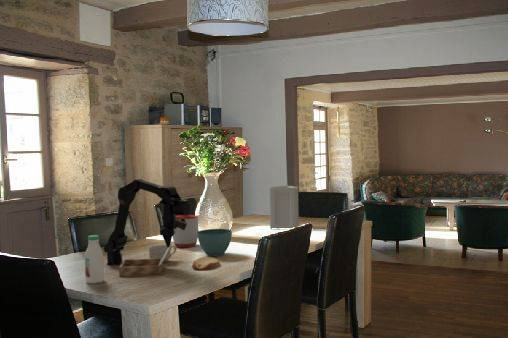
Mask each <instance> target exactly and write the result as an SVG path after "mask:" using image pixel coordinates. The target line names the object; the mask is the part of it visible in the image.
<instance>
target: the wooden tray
mask: <svg viewBox="0 0 508 338" xmlns="http://www.w3.org/2000/svg"><path fill="white" fill-rule="evenodd" d="M162 259H163V258H156V259H150V258H137V259H136V258H134V259H133V258H132V259H131V258H130V259H123V261H122V262H121V264H120V265H119V268H118V271H119V277H129V276H130V277H132V276H134V277H135V276H136V277H137V276H157V275H158V276H159V275H161V273H162V271H163V268H164V262H162V264H161V265H160V263H161V261H162Z"/></svg>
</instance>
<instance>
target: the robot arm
mask: <svg viewBox="0 0 508 338" xmlns="http://www.w3.org/2000/svg"><path fill="white" fill-rule="evenodd" d="M117 190H118V191H117V199H118V202H119V206H118V210H117V213H116V214H117V215H116V220H115V224H114V229H113V232H112V233H111V234H110V235H109V237H108V239H107V243H106V245H105V246H104V247H103V253H106V255H107V257H106V258H107V259H106V261H107V263H106V265H108V266H109V265H121V264H122V263H123V253H122V251H123V250H124V248H125V245H126V244H127V240H128V235H126V233H125V230H126V225H127V222H128V215H129V211H130V206H131V204H132V203H133V202H134V200H135V198H136V195H137V194H138V193H139V192H140V191H141V190H142V191H146V192H149V193H151V194H154V195H156V196H157V197H158V198H160V199H161V200H160V201H158V204H159V205H162V216H161V219H162V225H161V229H160V230H159V235H160V236H162V238H163V240H164V243H165V245H167V247H169V246H170V244H171V242H172V239H173V237H172V236H173V235H174V234H175V232H176V231H174V229H177V228H180V229H182V230H185V228H186V225H187V222H185V219H183V218H182V219H181V220H178V219H176V216H179V215H184V216H187V215H190V213H191V206H190V204H189V203H188V200H183V199H182V198H181V196H180V194H179V193H178V191H177V188H176V187H175V186H169V185H159V184H156V183H153V182H149V181H147V180H145V179H142V178H139V179H137V178H136V179H133V180H132V181H131V182H130V183H127V184H126V185H124V186H121V187H120V188H118V189H117ZM171 245H172V244H171Z"/></svg>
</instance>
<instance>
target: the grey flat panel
mask: <svg viewBox="0 0 508 338" xmlns="http://www.w3.org/2000/svg"><path fill="white" fill-rule="evenodd" d="M172 245H173V241H171V244H170V246H169V247H168V249H167V251H166V253H165V255H164V257H163V259H162V261H161V263H160V265H161V264H162V262H163V260H164V258H165V256H166V254H167V252H168V251H169V249H170V247H171V246H172ZM163 263H164V262H163Z"/></svg>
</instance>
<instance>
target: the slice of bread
mask: <svg viewBox="0 0 508 338" xmlns="http://www.w3.org/2000/svg"><path fill="white" fill-rule="evenodd" d="M219 266H220V261H219V259H217V258H214V257H212V256H203V257H198V258H197V259H196V260H194V261H192V265H191V268H192V269H193V270H194V271H198V272H205V271H208V270H212V269H216V268H218V267H219Z"/></svg>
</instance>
